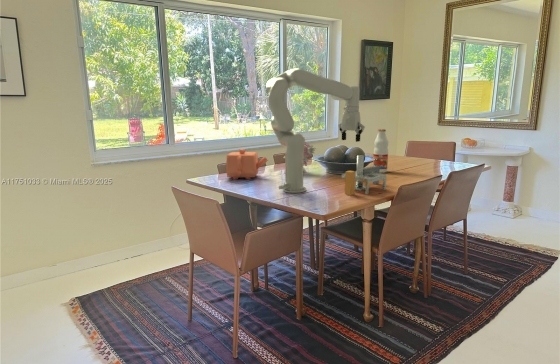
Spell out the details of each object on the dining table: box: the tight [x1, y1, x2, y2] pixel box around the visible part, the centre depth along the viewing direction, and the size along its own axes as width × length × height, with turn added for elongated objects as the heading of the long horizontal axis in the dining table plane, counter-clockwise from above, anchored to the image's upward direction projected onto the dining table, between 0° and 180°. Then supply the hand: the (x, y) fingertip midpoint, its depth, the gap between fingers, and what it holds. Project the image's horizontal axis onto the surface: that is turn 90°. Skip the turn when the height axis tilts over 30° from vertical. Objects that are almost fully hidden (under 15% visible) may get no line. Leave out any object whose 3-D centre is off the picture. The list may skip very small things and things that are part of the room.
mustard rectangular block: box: [344, 170, 356, 196], centre depth 192 cm, size 4×4×12 cm
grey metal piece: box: [341, 154, 387, 195], centre depth 202 cm, size 16×18×18 cm
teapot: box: [225, 148, 269, 180], centre depth 235 cm, size 25×23×18 cm
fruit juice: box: [372, 128, 389, 174], centre depth 246 cm, size 9×9×28 cm
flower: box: [282, 137, 316, 173], centre depth 246 cm, size 20×22×24 cm
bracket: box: [363, 165, 380, 185], centre depth 210 cm, size 14×2×10 cm, turn 129°
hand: (350, 140), depth 209 cm, fingers open, 9 cm apart
